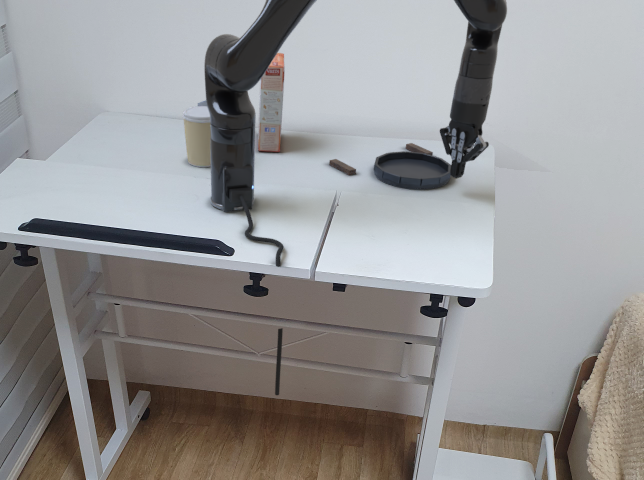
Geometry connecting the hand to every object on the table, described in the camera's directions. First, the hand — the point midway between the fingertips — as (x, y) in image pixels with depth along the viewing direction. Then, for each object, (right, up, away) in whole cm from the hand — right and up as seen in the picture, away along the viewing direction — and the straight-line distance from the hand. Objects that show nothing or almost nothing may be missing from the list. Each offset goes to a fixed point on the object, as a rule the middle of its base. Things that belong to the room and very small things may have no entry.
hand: (456, 176), depth 162 cm
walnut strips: (-14, +9, +19) cm, 25 cm away
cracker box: (-42, +16, +27) cm, 52 cm away
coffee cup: (-58, +8, +15) cm, 60 cm away
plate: (-8, +4, +12) cm, 14 cm away
